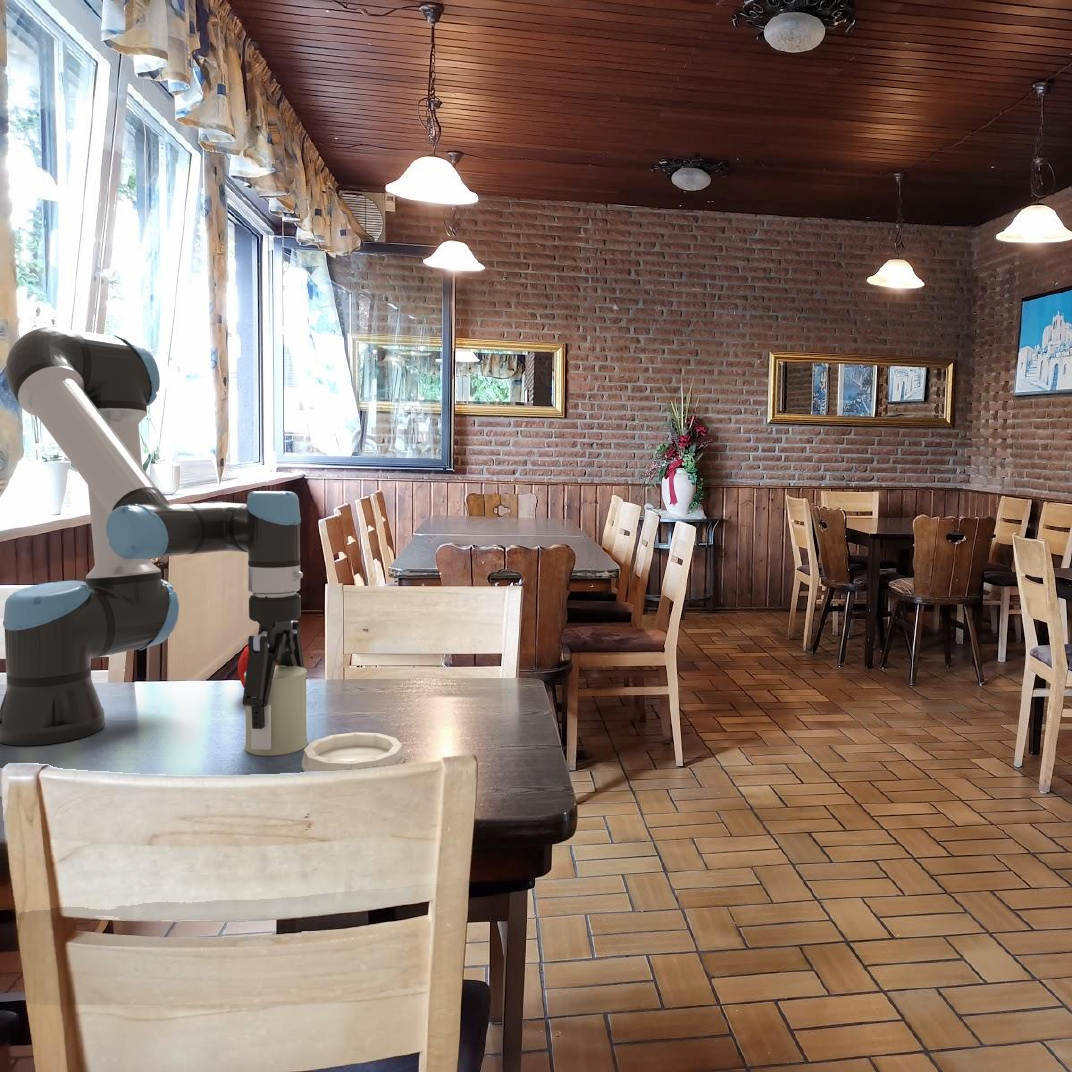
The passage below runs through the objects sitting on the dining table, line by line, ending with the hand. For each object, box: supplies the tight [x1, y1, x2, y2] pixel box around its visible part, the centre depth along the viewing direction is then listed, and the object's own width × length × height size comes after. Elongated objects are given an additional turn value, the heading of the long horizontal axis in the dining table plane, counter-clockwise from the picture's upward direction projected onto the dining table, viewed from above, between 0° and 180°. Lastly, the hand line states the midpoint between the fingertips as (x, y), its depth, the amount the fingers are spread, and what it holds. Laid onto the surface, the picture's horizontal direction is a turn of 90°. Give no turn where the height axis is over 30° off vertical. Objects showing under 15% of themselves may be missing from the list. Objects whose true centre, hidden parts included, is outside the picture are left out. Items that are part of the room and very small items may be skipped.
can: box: [244, 665, 309, 757], centre depth 127 cm, size 9×9×12 cm
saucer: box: [301, 731, 405, 771], centre depth 121 cm, size 14×14×2 cm
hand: (276, 736), depth 128 cm, fingers open, 10 cm apart
